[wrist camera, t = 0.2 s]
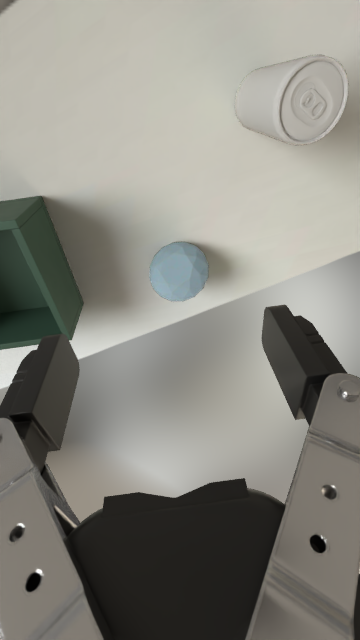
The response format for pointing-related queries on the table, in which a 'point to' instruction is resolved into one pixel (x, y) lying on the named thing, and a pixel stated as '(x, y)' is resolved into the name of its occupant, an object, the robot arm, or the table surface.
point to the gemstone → (179, 271)
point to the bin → (33, 277)
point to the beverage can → (294, 99)
